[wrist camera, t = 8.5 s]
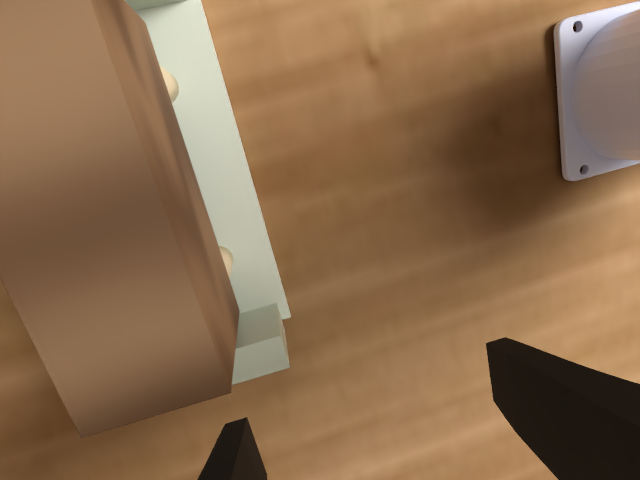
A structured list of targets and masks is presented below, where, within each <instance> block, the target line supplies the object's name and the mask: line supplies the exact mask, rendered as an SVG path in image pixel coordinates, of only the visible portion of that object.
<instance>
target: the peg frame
mask: <svg viewBox="0 0 640 480" xmlns="http://www.w3.org/2000/svg"><path fill="white" fill-rule="evenodd" d="M124 1H125V2H126V3H127V4H128V5H129V6H130V7H131V8H132V9H133V10H134V11H135V12H136V13H137V14H138V15H139V16H140V17H141V19H142V20H143V21H144V22H145V23H146V26H147V29H148V32H149V35H150V38H151V41H152V44H153V47H154V50H155V53H156V56H157V59H158V62H159V66H160V69H161V72H162V75H163V78H164V81H165V84H166V87H167V90H168V93H169V96H170V99H171V102H172V105H173V108H174V111H175V114H176V117H177V121H178V124H179V127H180V130H181V133H182V136H183V139H184V142H185V145H186V148H187V151H188V154H189V157H190V160H191V163H192V166H193V169H194V172H195V175H196V179H197V182H198V185H199V188H200V191H201V194H202V197H203V200H204V203H205V206H206V209H207V212H208V215H209V218H210V221H211V224H212V227H213V230H214V234H215V237H216V240H217V243H218V246H219V249H220V252H221V255H222V258H223V261H224V264H225V267H226V270H227V273H228V276H229V279H230V282H231V285H232V288H233V292H234V295H235V298H236V301H237V304H238V307H239V310H240V313H239V322H238V331H237V341H236V350H235V359H234V368H233V377H232V385H234V384H237V383H241V382H244V381H247V380H251V379H254V378H257V377H261V376H264V375H267V374H271V373H274V372H277V371H281V370H284V369H287V368H290V363H289V356H288V349H287V342H286V335H285V329H284V326H283V322H282V320H284V319H287V318H291V314H290V310H289V306H288V303H287V299H286V296H285V292H284V289H283V285H282V282H281V278H280V275H279V271H278V268H277V264H276V261H275V257H274V254H273V250H272V247H271V243H270V240H269V236H268V233H267V229H266V226H265V222H264V219H263V215H262V212H261V208H260V205H259V201H258V198H257V194H256V191H255V187H254V184H253V180H252V177H251V173H250V170H249V166H248V163H247V159H246V156H245V152H244V149H243V145H242V142H241V138H240V135H239V131H238V128H237V124H236V121H235V117H234V114H233V110H232V107H231V103H230V100H229V96H228V93H227V89H226V86H225V82H224V79H223V75H222V72H221V68H220V65H219V61H218V58H217V54H216V51H215V47H214V44H213V40H212V37H211V33H210V30H209V26H208V23H207V19H206V16H205V12H204V9H203V5H202V2H201V0H124Z"/></svg>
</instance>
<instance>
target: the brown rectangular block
mask: <svg viewBox="0 0 640 480" xmlns="http://www.w3.org/2000/svg"><path fill="white" fill-rule="evenodd" d="M0 279H1V281H2V283H3V285H4V287H5V289H6V291H7V293H8V295H9V297H10V298H11V300H12V302H13V304H14V306H15V308H16V310H17V312H18V314H19V316H20V318H21V320H22V322H23V324H24V326H25V328H26V330H27V332H28V334H29V336H30V338H31V340H32V342H33V344H34V346H35V348H36V350H37V352H38V354H39V356H40V358H41V360H42V362H43V364H44V366H45V368H46V370H47V372H48V374H49V376H50V378H51V380H52V382H53V384H54V385H55V387H56V389H57V391H58V393H59V395H60V397H61V399H62V401H63V403H64V405H65V407H66V409H67V411H68V413H69V415H70V417H71V419H72V421H73V423H74V425H75V427H76V429H77V431H78V433H79V435H80V437H81V438H84V437H87V436H91V435H94V434H97V433H100V432H104V431H107V430H110V429H114V428H117V427H120V426H123V425H127V424H130V423H133V422H137V421H140V420H143V419H146V418H150V417H153V416H156V415H160V414H163V413H166V412H169V411H173V410H176V409H179V408H183V407H186V406H189V405H192V404H196V403H199V402H202V401H206V400H209V399H212V398H215V397H219V396H222V395H225V394H229V393H231V386H232V377H233V368H234V359H235V350H236V341H237V331H238V322H239V313H240V310H239V307H238V304H237V301H236V298H235V295H234V292H233V288H232V285H231V282H230V279H229V276H228V273H227V270H226V267H225V264H224V261H223V258H222V255H221V252H220V249H219V246H218V243H217V240H216V237H215V234H214V230H213V227H212V224H211V221H210V218H209V215H208V212H207V209H206V206H205V203H204V200H203V197H202V194H201V191H200V188H199V185H198V182H197V179H196V175H195V172H194V169H193V166H192V163H191V160H190V157H189V154H188V151H187V148H186V145H185V142H184V139H183V136H182V133H181V130H180V127H179V124H178V121H177V117H176V114H175V111H174V108H173V105H172V102H171V99H170V96H169V93H168V90H167V87H166V84H165V81H164V78H163V75H162V72H161V69H160V66H159V62H158V59H157V56H156V53H155V50H154V47H153V44H152V41H151V38H150V35H149V32H148V29H147V26H146V23H145V22H144V21H143V20H142V19H141V17H140V16H139V15H138V14H137V13H136V12H135V11H134V10H133V9H132V8H131V7H130V6H129V5H128V4H127V3H126V2H125V1H124V0H0Z"/></svg>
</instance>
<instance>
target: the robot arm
mask: <svg viewBox="0 0 640 480" xmlns="http://www.w3.org/2000/svg"><path fill="white" fill-rule="evenodd" d="M573 24H575V25H576V31H575V32H574V30H573ZM554 47H555V63H556V79H557V96H558V112H559V128H560V145H561V161H562V175H563V178H564V179H565V180H567V181H578V180H581V179H585V178H588V177H592V176H596V175H599V174H603V173H607V172H610V171H614V170H617V169H621V168H625V167H628V166H632V165H635V164H639V163H640V1H637V2H632V3H628V4H624V5H620V6H615V7H611V8H607V9H603V10H598V11H594V12H590V13H586V14H582V15H577V16H573V17H569V18H566V19H563V20H561V21H559V22H558V23H557V24H556V26H555V28H554ZM581 166H582V167H583V170H582V172H581V173H580V168H581ZM486 347H487V355H488V363H489V370H490V378H491V385H492V393H493V400H494V402H495V403H496V405H497V406H498V408H499V409H500V411H501V412H502V414H503V415H504V417H505V418H506V419H507V421H508V422H509V423H510V425H511V426H512V428H513V429H514V430H515V432H516V433H517V434H518V435H519V436H520V437H521V439H522V440H523V441H524V442H525V443H526V444H527V445H528V446H529V447H530V449H531V450H532V451H533V452H534V453H535V454H536V455H537V456H538V458H539V459H540V460H541V461H542V462H543V463H544V464H545V465H546V466H547V467H548V469H549V470H550V471H551V472H552V473H553V474H554V475H555V476H556V477H557V478H558V480H640V384H638V383H634V382H631V381H628V380H624V379H621V378H618V377H615V376H612V375H609V374H605V373H602V372H599V371H596V370H594V369H591V368H588V367H585V366H582V365H579V364H576V363H574V362H571V361H568V360H565V359H563V358H560V357H557V356H555V355H552V354H550V353H547V352H544V351H542V350H539V349H536V348H534V347H531V346H528V345H526V344H523V343H520V342H518V341H515V340H512V339H509V338H506V337H505V338H501V339H498V340H495V341H492V342H488V343H486ZM198 480H267V473H266V470H265V468H264V465H263V462H262V459H261V456H260V453H259V450H258V448H257V445H256V442H255V439H254V436H253V433H252V430H251V428H250V425H249V422H248V419H247V417H246V418H243V419H240V420H236V421H233V422H230V423H227V424H225V426H224V427H223V429H222V431H221V433H220V435H219V437H218V439H217V441H216V444H215V446H214V448H213V450H212V452H211V454H210V456H209V458H208V460H207V462H206V464H205V466H204V468H203V470H202V472H201V474H200V476H199V478H198Z"/></svg>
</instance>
